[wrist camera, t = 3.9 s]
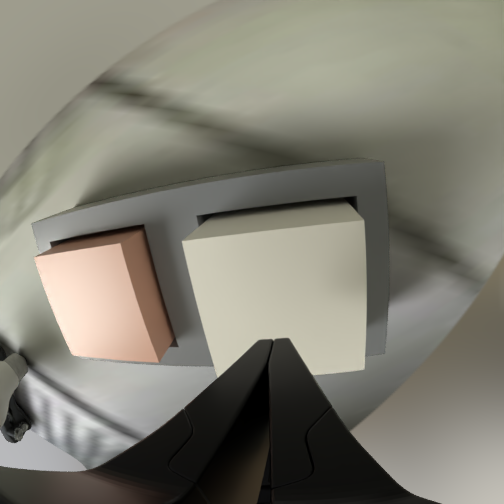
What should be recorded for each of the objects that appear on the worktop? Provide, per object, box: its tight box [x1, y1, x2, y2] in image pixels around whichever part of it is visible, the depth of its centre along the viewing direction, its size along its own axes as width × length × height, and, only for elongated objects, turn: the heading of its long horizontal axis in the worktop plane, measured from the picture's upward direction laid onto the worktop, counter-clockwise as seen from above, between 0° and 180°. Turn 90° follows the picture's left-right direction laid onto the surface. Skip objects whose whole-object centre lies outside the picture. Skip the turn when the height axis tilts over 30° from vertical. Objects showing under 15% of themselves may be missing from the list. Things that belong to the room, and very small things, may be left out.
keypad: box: [31, 158, 389, 366], centre depth 15 cm, size 9×17×4 cm, turn 100°
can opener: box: [0, 347, 31, 443], centre depth 25 cm, size 18×7×6 cm, turn 159°
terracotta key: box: [34, 224, 175, 363], centre depth 14 cm, size 6×6×4 cm
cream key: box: [182, 197, 367, 378], centre depth 12 cm, size 6×6×4 cm
